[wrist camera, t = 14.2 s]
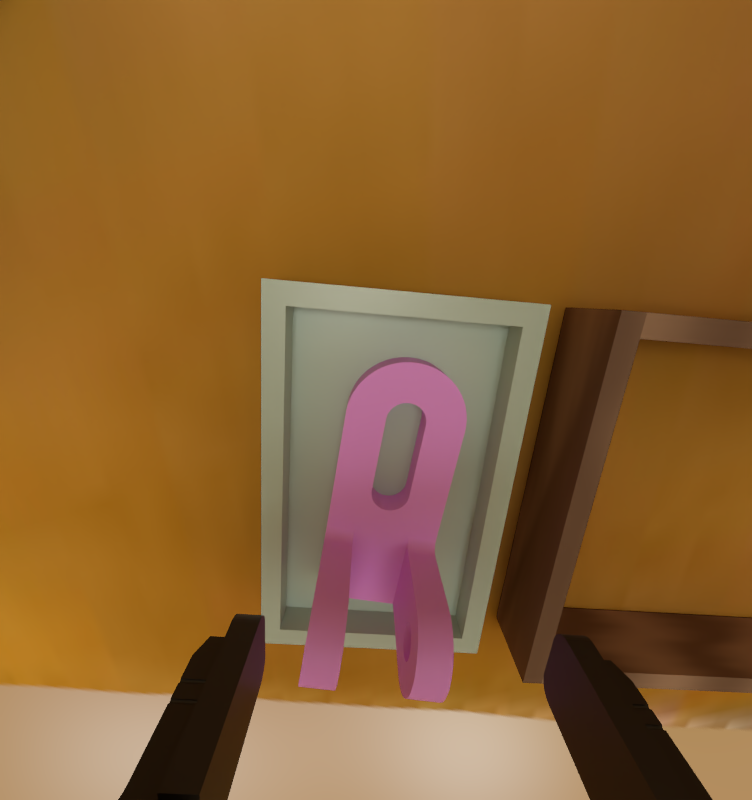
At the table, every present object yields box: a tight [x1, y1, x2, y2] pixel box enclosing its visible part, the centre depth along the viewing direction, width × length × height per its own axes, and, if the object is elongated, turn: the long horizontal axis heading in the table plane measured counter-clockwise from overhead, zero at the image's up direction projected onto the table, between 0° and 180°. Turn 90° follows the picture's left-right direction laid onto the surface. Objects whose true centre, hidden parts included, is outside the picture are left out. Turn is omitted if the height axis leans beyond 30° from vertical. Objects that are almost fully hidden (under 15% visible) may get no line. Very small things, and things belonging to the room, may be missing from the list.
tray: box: [261, 278, 551, 653], centre depth 18 cm, size 12×19×2 cm, turn 175°
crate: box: [497, 308, 752, 693], centre depth 18 cm, size 22×19×4 cm
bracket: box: [298, 357, 467, 703], centre depth 15 cm, size 13×6×7 cm, turn 170°
